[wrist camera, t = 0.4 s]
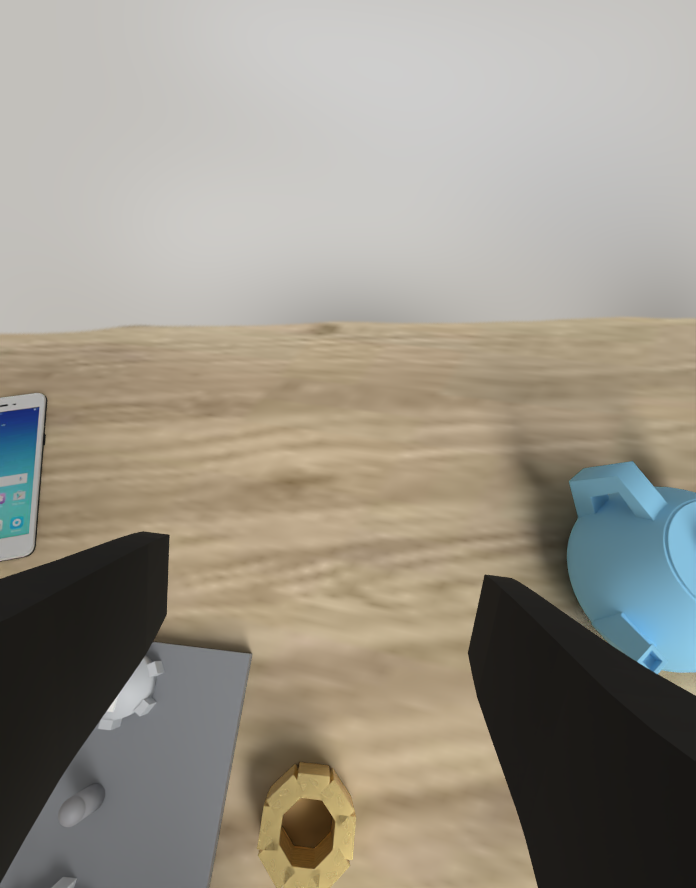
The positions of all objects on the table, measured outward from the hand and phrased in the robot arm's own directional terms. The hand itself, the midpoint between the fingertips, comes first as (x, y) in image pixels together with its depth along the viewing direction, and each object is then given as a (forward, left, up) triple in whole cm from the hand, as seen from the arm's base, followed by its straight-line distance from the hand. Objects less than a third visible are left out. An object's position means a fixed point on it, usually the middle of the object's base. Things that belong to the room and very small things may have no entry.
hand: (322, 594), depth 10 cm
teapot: (+7, -26, -26) cm, 38 cm away
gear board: (-11, +13, -26) cm, 31 cm away
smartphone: (+9, +29, -27) cm, 40 cm away
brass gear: (-11, -1, -26) cm, 28 cm away
